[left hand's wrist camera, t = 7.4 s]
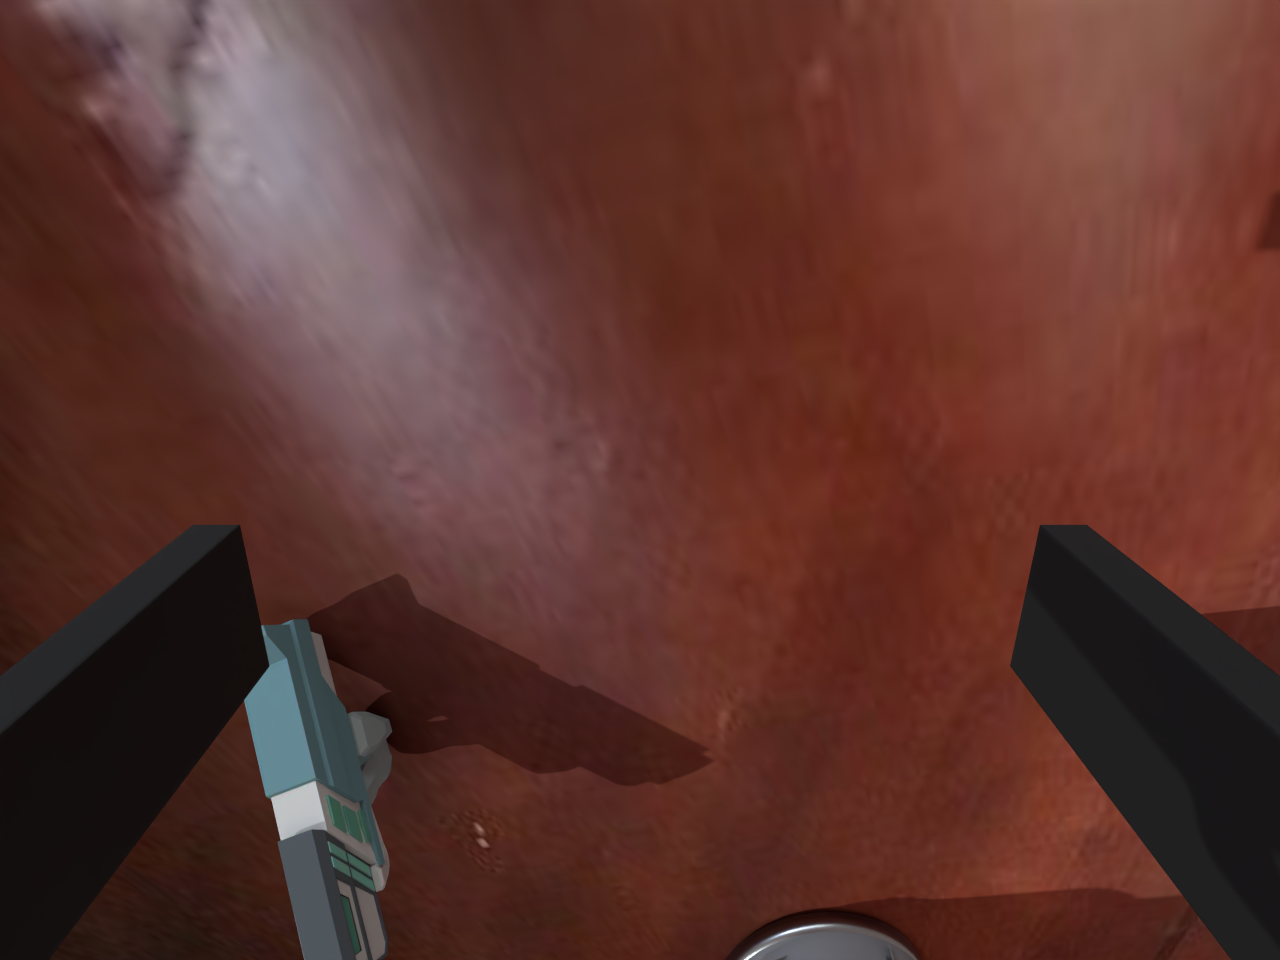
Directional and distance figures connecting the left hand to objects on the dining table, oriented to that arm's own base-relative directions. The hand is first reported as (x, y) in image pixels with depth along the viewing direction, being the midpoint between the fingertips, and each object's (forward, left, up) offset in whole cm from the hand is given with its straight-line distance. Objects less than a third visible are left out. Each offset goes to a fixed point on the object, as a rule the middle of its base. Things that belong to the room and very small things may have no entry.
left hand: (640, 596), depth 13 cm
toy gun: (-24, +18, -28) cm, 41 cm away
